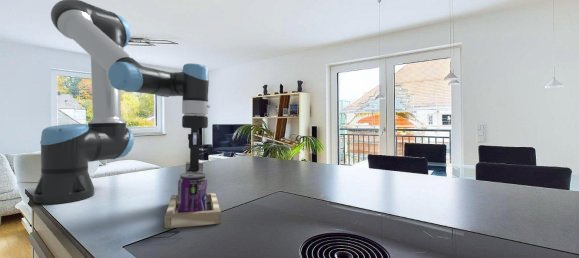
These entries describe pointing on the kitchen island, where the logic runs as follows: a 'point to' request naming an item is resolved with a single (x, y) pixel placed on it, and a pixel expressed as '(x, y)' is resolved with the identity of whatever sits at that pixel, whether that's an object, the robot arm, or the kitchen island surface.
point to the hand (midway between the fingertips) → (194, 190)
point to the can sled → (192, 217)
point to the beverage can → (192, 192)
